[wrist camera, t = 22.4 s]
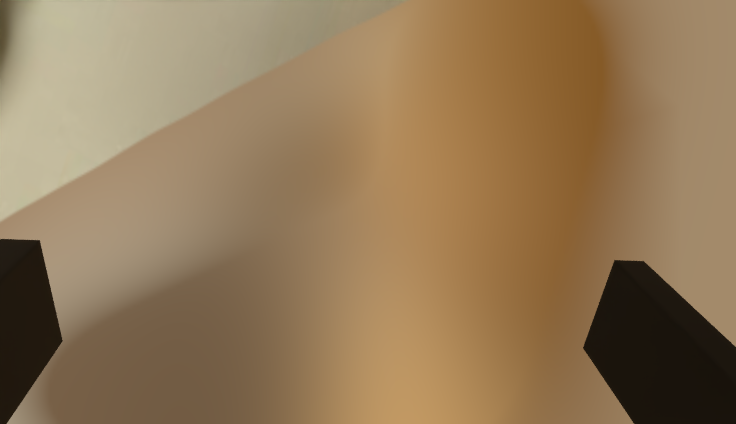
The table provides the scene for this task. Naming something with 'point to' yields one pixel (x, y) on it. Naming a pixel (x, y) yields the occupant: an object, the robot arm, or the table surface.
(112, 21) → the table surface
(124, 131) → the table surface
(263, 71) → the table surface
